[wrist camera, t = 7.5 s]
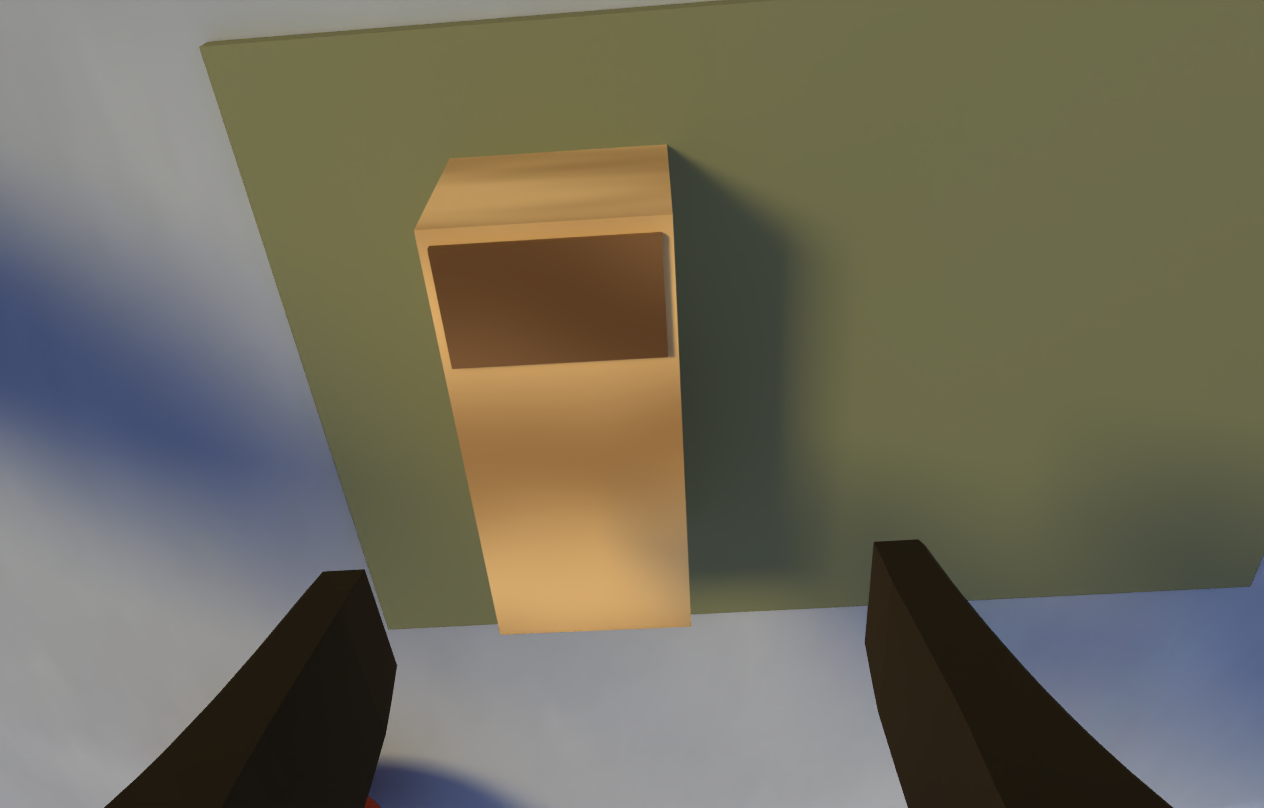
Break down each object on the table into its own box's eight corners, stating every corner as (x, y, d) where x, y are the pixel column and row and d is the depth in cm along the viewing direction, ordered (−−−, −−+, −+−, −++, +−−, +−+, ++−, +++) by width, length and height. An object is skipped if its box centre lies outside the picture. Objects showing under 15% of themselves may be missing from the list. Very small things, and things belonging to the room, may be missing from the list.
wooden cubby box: (684, 521, 24) (691, 631, 21) (517, 529, 24) (499, 639, 21) (666, 144, 18) (672, 217, 15) (449, 158, 19) (411, 233, 16)
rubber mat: (1502, -63, 17) (1519, -60, 16) (1242, 576, 26) (1250, 586, 25) (207, 42, 18) (199, 46, 17) (391, 618, 27) (388, 629, 26)
